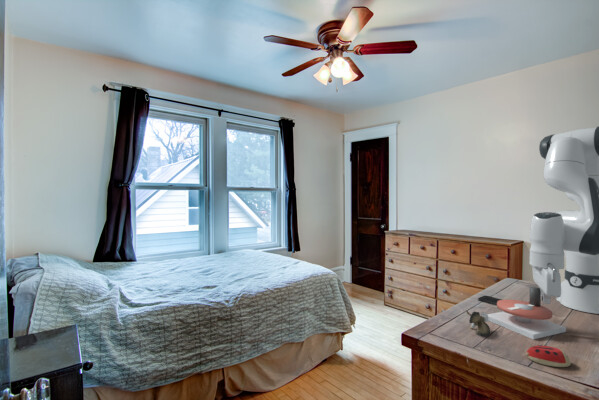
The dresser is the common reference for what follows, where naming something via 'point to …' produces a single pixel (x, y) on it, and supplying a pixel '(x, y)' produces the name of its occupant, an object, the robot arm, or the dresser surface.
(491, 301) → the phone
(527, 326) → the square base plate
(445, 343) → the dresser surface
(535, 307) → the handwheel
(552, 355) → the ladybug figurine
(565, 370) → the dresser surface
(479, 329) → the eagle figurine
